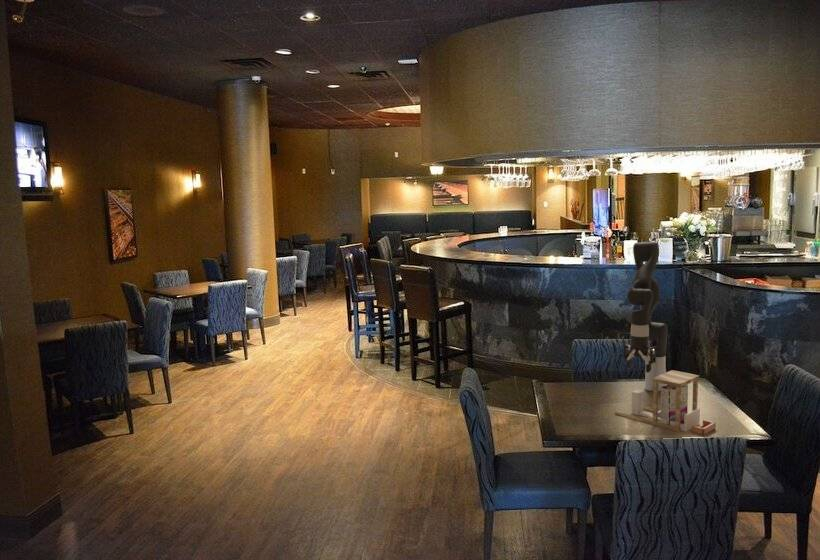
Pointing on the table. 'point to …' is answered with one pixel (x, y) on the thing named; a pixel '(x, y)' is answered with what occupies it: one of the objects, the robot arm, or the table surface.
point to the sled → (637, 409)
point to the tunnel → (678, 381)
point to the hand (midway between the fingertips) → (639, 370)
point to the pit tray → (704, 428)
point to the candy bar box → (673, 403)
